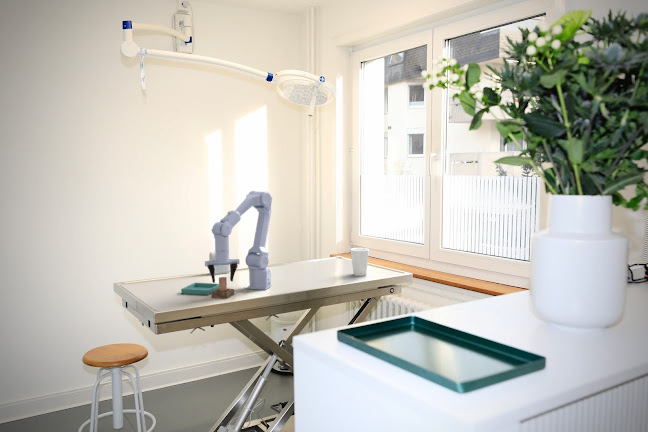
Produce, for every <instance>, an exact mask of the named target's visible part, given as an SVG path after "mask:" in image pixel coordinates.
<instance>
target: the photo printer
mask: <svg viewBox="0 0 648 432" xmlns="http://www.w3.org/2000/svg"><path fill="white" fill-rule="evenodd" d="M208 257H209V258H208V261H212V260H215V250H212V251H210V252H209V255H208ZM214 268H215V272H214V276H215V275H223V274H230V265H215V266H214ZM209 275H210V276H211V274H210V273H209Z"/></svg>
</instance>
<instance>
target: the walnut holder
mask: <svg viewBox="0 0 648 432" xmlns="http://www.w3.org/2000/svg"><path fill="white" fill-rule="evenodd" d="M234 295H235V289H234V288H227V291H226V292H221V291H219V288H218V289H216V290H214V291H213V292H212V294H211V297H212V298H215V299H229V298H231V297H232V296H234Z"/></svg>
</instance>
